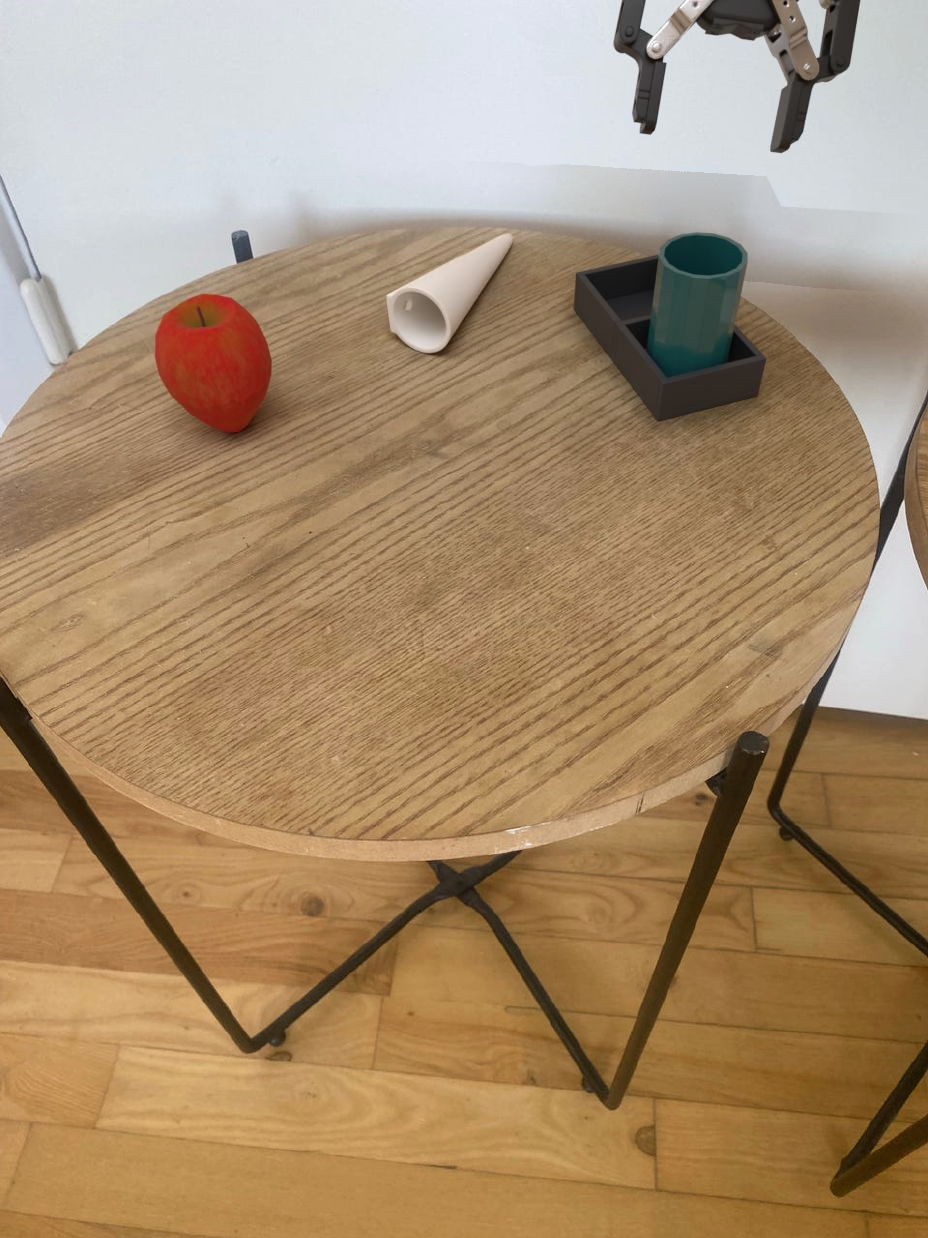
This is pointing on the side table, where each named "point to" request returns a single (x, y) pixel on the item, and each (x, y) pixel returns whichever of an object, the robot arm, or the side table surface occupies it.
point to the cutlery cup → (695, 302)
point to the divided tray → (621, 326)
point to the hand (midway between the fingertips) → (713, 141)
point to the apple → (214, 360)
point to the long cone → (443, 296)
